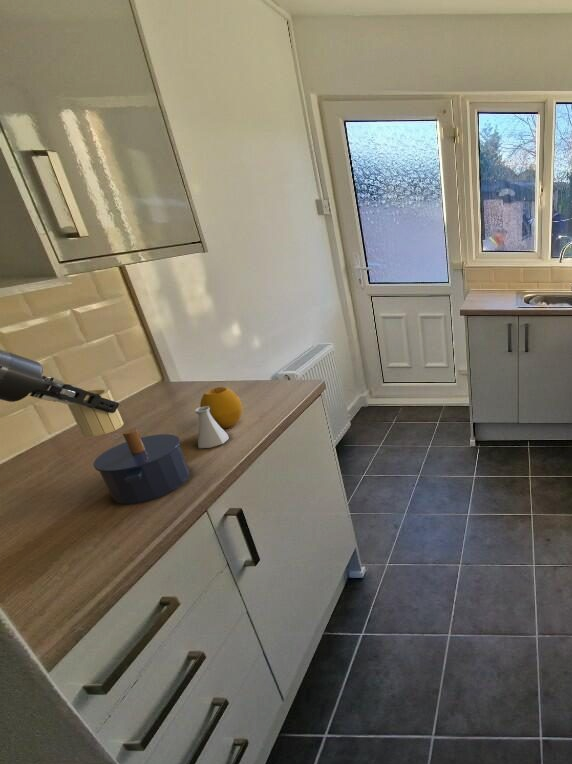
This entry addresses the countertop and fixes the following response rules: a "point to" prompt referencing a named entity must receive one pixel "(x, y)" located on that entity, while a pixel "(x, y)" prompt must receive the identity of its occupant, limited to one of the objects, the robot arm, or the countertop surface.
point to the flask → (209, 429)
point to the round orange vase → (223, 406)
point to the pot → (148, 479)
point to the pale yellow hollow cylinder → (96, 416)
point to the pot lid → (136, 451)
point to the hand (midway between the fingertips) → (104, 405)
